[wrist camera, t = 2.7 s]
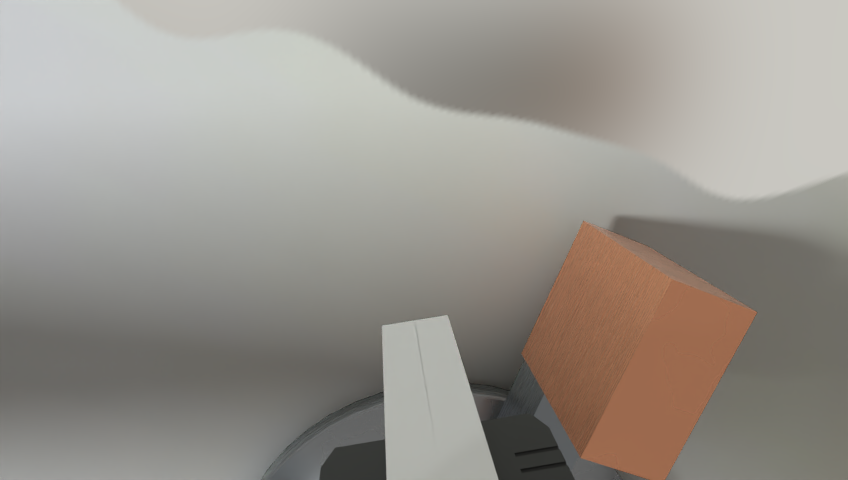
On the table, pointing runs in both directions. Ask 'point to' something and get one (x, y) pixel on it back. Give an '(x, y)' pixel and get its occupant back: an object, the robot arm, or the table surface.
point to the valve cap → (365, 422)
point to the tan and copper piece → (625, 354)
